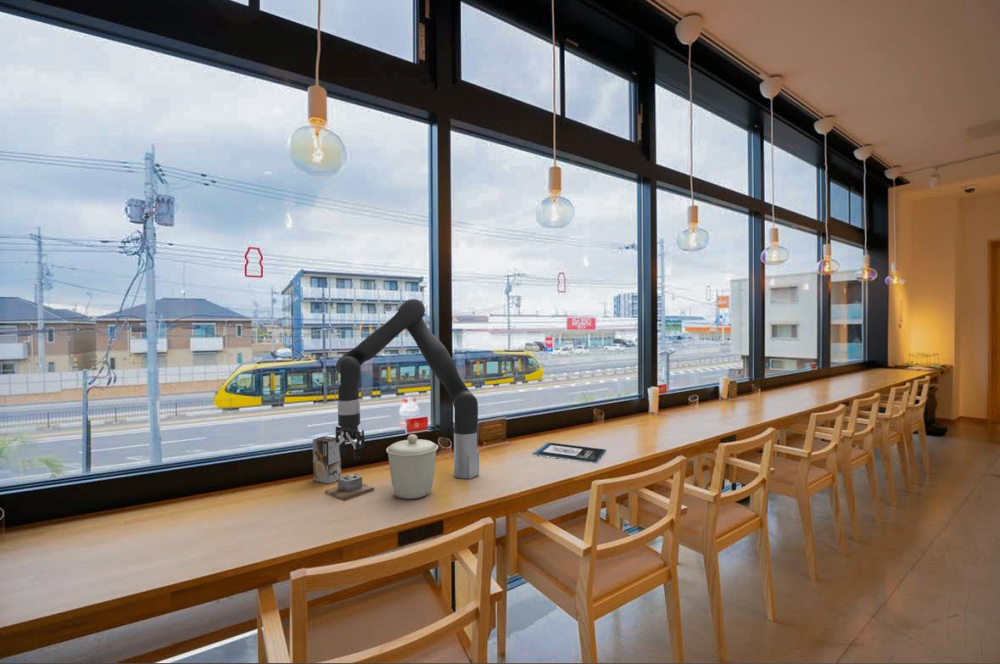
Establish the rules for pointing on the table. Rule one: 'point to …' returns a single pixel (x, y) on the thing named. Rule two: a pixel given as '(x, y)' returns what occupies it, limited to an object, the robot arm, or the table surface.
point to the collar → (349, 484)
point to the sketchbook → (570, 452)
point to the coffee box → (326, 460)
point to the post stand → (345, 496)
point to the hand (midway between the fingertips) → (350, 457)
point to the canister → (412, 467)
